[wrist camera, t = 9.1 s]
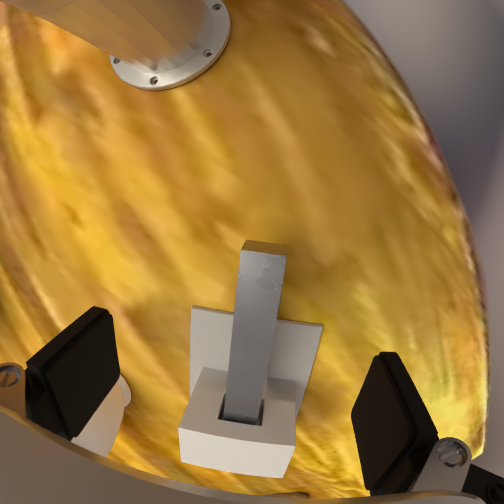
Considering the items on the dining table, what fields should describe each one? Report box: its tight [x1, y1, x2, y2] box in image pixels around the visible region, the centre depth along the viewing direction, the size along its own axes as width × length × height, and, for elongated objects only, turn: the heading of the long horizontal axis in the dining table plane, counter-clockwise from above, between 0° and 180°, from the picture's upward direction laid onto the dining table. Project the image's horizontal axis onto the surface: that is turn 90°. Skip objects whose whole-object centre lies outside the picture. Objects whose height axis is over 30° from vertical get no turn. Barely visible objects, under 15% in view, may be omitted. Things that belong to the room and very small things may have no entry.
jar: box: [71, 375, 131, 457], centre depth 27 cm, size 11×10×15 cm
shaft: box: [223, 240, 287, 425], centre depth 23 cm, size 20×3×3 cm, turn 173°
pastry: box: [266, 492, 309, 499], centre depth 37 cm, size 9×7×4 cm
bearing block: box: [178, 306, 323, 478], centre depth 26 cm, size 20×13×10 cm, turn 173°
